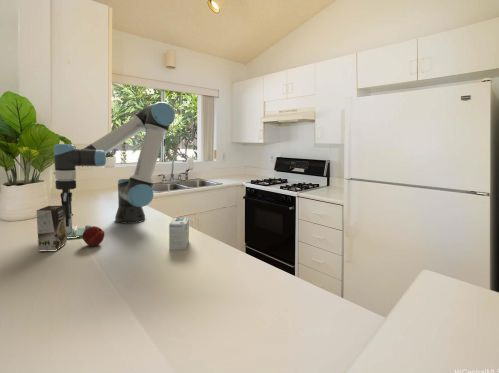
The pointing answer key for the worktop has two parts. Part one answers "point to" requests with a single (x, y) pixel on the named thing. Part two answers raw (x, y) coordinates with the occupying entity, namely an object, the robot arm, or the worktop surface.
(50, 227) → the coffee box
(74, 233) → the board
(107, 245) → the worktop surface
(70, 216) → the plug
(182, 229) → the light bulb box
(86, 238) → the apple
